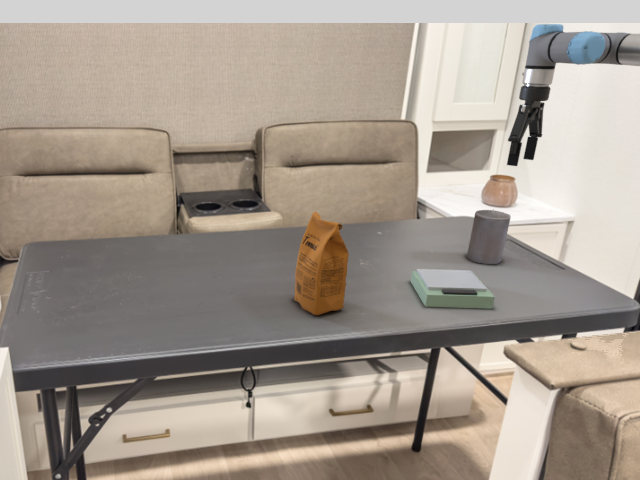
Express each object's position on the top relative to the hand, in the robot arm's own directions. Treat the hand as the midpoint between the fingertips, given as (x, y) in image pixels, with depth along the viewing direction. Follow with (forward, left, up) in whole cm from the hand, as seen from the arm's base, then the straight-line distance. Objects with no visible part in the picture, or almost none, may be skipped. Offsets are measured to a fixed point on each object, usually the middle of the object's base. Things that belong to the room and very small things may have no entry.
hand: (520, 162), depth 170 cm
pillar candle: (-10, +9, -27) cm, 30 cm away
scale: (-38, +27, -27) cm, 54 cm away
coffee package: (-47, +61, -27) cm, 82 cm away
